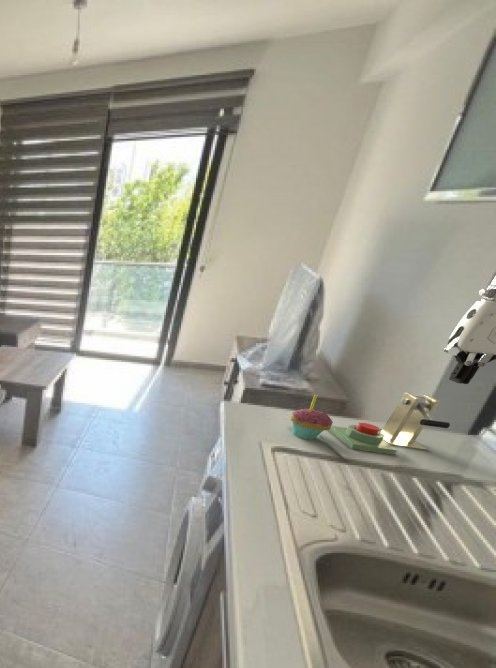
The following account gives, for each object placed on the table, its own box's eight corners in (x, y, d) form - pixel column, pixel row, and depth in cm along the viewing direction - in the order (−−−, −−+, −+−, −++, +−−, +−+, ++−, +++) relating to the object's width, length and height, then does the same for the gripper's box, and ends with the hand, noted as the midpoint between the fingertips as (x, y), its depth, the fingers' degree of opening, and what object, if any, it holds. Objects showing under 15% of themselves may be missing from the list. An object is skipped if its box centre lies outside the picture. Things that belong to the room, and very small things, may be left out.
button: (379, 437, 119) (383, 430, 118) (360, 434, 119) (364, 428, 119) (370, 430, 122) (373, 424, 121) (352, 427, 123) (355, 421, 122)
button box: (391, 458, 117) (401, 443, 115) (349, 451, 119) (357, 437, 117) (366, 438, 126) (374, 425, 124) (327, 432, 128) (334, 419, 126)
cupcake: (294, 440, 123) (316, 397, 117) (276, 426, 130) (297, 385, 124) (330, 445, 122) (355, 401, 116) (311, 430, 129) (333, 388, 123)
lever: (444, 431, 114) (452, 423, 113) (420, 427, 115) (427, 420, 114) (423, 405, 121) (431, 397, 120) (400, 402, 122) (407, 394, 121)
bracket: (424, 453, 120) (456, 406, 114) (387, 448, 122) (416, 401, 116) (399, 436, 129) (428, 392, 122) (365, 431, 130) (391, 387, 124)
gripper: (481, 296, 96) (430, 382, 105) (574, 303, 93) (513, 392, 102) (453, 290, 103) (407, 372, 111) (539, 297, 100) (484, 380, 108)
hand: (458, 381), depth 107 cm, fingers closed
